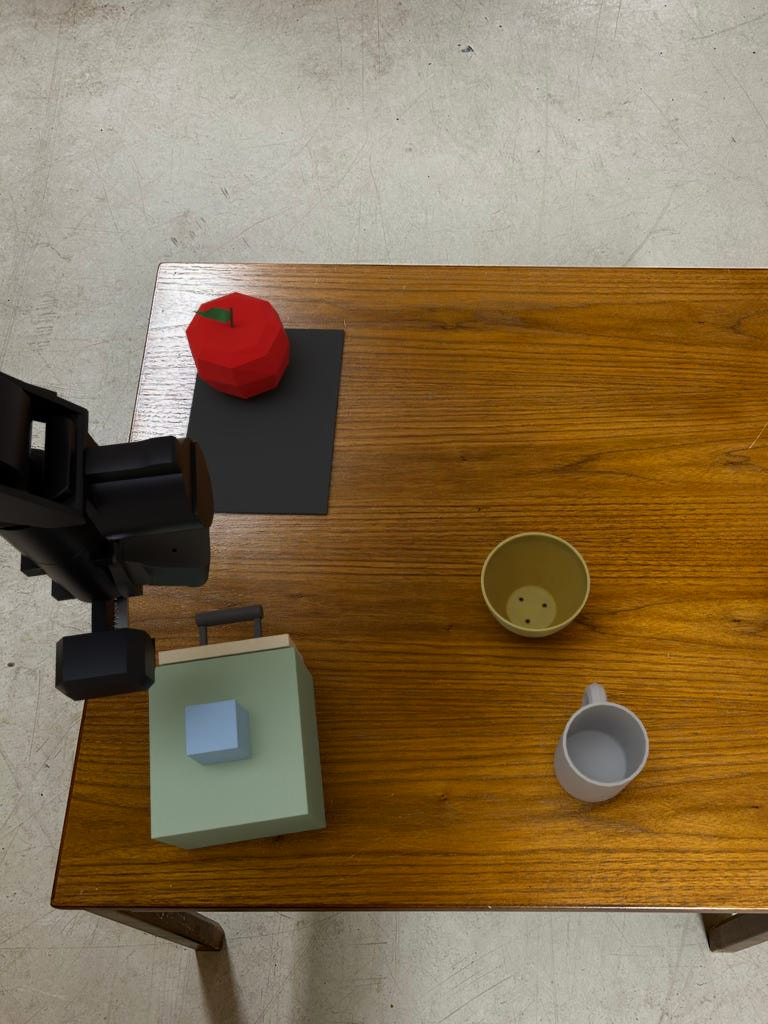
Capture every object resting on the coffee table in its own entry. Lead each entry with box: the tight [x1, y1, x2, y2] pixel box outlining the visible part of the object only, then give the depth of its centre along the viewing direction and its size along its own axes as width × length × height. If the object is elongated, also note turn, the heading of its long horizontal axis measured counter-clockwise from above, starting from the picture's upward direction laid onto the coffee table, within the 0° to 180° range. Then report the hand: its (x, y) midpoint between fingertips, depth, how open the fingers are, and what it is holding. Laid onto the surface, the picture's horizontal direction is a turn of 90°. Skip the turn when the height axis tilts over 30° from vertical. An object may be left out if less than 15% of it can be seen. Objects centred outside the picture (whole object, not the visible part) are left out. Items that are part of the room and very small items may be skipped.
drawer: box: [158, 604, 304, 666], centre depth 73 cm, size 18×11×7 cm, turn 9°
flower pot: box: [480, 531, 591, 638], centre depth 77 cm, size 10×10×7 cm
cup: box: [553, 682, 650, 803], centre depth 72 cm, size 7×10×9 cm
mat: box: [185, 327, 345, 516], centre depth 88 cm, size 16×24×1 cm, turn 179°
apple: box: [185, 291, 289, 399], centre depth 85 cm, size 11×11×10 cm
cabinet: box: [148, 647, 327, 851], centre depth 71 cm, size 15×13×9 cm
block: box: [185, 699, 251, 765], centre depth 65 cm, size 4×4×4 cm
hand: (148, 614), depth 67 cm, fingers open, 9 cm apart
